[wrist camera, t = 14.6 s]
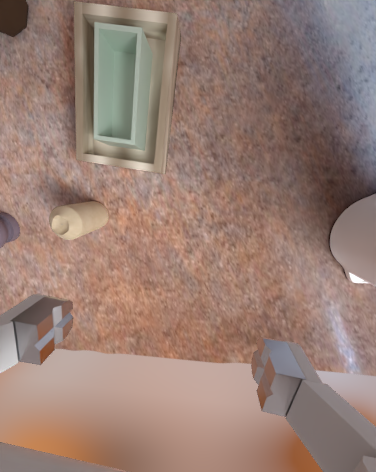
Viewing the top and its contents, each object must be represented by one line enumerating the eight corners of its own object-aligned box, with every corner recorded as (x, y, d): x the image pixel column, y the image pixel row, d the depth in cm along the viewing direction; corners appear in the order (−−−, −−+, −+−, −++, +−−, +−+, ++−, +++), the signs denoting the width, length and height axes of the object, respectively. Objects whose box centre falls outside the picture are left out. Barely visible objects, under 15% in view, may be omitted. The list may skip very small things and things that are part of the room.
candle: (84, 197, 37) (41, 202, 27) (110, 205, 37) (77, 212, 27) (81, 223, 39) (40, 237, 29) (107, 231, 38) (74, 246, 29)
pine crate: (181, 36, 29) (177, 13, 25) (165, 174, 34) (160, 173, 31) (90, 25, 29) (73, 1, 26) (90, 162, 35) (76, 159, 31)
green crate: (152, 53, 29) (142, 27, 24) (144, 150, 33) (134, 145, 28) (112, 48, 29) (94, 21, 24) (109, 145, 33) (93, 139, 28)
